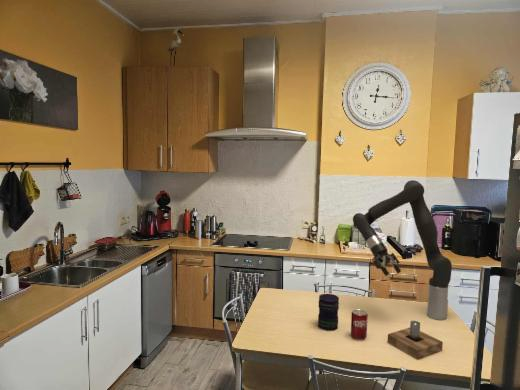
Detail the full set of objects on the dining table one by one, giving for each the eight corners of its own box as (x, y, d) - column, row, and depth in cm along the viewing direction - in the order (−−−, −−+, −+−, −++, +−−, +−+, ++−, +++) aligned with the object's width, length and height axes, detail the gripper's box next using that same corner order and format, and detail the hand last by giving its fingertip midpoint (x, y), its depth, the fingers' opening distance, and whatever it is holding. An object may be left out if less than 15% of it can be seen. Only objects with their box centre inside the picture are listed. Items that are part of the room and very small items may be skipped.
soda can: (348, 333, 172) (349, 309, 171) (363, 333, 172) (364, 308, 171) (353, 340, 164) (354, 315, 163) (369, 340, 165) (370, 315, 164)
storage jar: (341, 326, 179) (342, 297, 177) (331, 333, 172) (332, 302, 170) (324, 320, 186) (325, 292, 184) (313, 326, 178) (314, 297, 177)
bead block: (411, 334, 171) (411, 326, 171) (442, 350, 157) (442, 341, 157) (387, 342, 163) (387, 334, 163) (417, 359, 149) (418, 350, 149)
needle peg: (413, 343, 163) (414, 320, 162) (420, 347, 160) (422, 323, 159) (407, 345, 161) (408, 321, 160) (414, 349, 158) (416, 325, 157)
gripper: (370, 243, 181) (388, 272, 172) (390, 240, 188) (408, 267, 179) (362, 251, 186) (379, 279, 177) (382, 248, 193) (398, 275, 184)
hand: (393, 273), depth 178 cm, fingers open, 8 cm apart
